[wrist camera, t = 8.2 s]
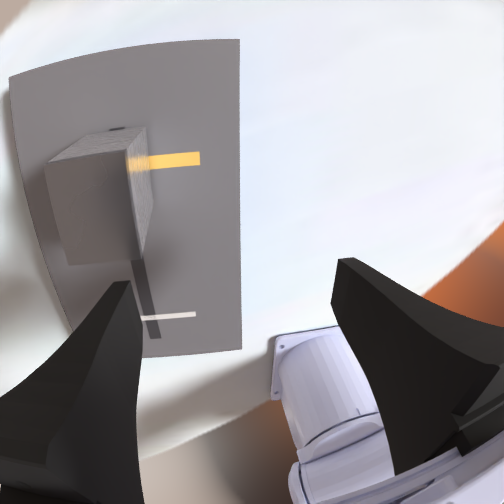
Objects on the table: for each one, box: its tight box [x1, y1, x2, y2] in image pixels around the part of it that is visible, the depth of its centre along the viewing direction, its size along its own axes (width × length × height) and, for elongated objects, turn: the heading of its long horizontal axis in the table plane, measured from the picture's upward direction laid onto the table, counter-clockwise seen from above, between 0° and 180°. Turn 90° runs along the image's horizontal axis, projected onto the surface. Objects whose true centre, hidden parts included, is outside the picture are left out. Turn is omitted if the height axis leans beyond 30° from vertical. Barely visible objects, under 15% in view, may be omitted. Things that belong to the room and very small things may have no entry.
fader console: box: [9, 39, 242, 358], centre depth 18 cm, size 20×12×2 cm, turn 0°
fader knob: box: [43, 126, 154, 266], centre depth 12 cm, size 4×3×5 cm
